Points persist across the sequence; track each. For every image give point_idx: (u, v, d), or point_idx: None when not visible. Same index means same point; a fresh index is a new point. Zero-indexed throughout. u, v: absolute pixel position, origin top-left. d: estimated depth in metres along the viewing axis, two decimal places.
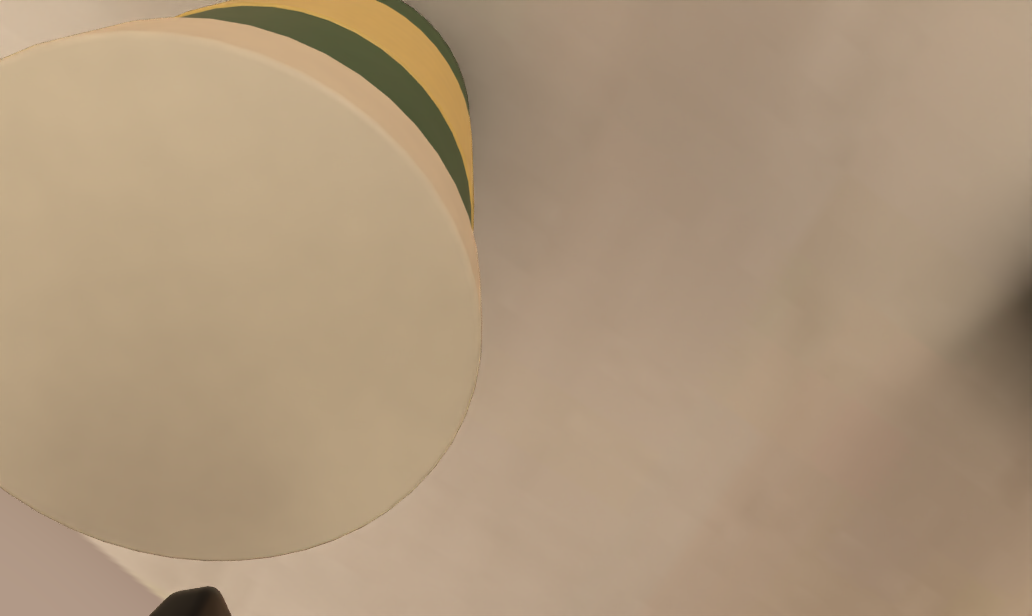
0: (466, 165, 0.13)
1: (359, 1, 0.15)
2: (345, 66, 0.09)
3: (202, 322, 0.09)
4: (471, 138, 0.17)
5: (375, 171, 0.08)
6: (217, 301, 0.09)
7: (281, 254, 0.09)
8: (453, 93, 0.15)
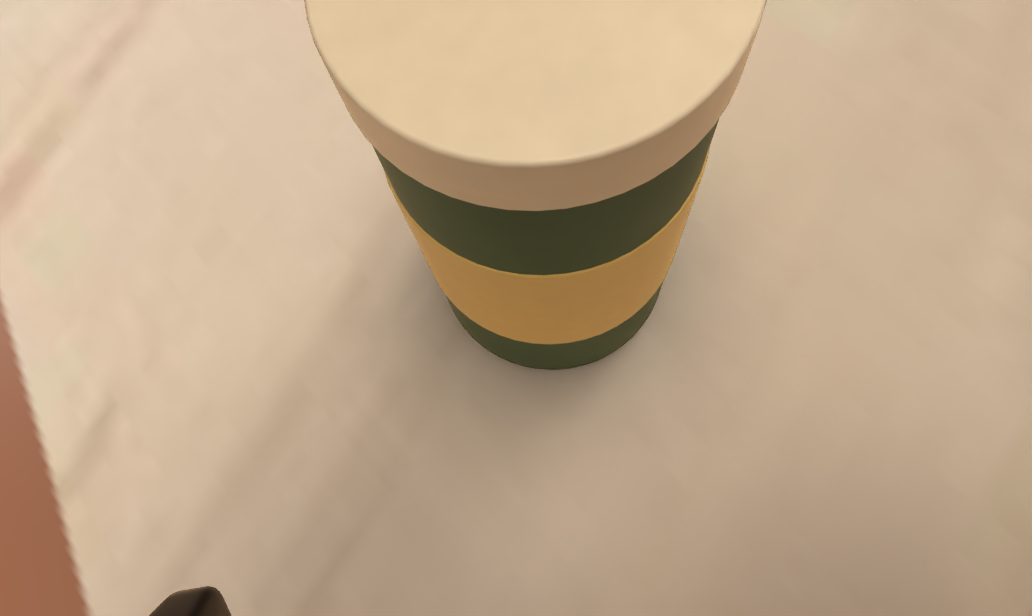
0: None
1: None
2: None
3: None
4: None
5: None
6: None
7: None
8: None
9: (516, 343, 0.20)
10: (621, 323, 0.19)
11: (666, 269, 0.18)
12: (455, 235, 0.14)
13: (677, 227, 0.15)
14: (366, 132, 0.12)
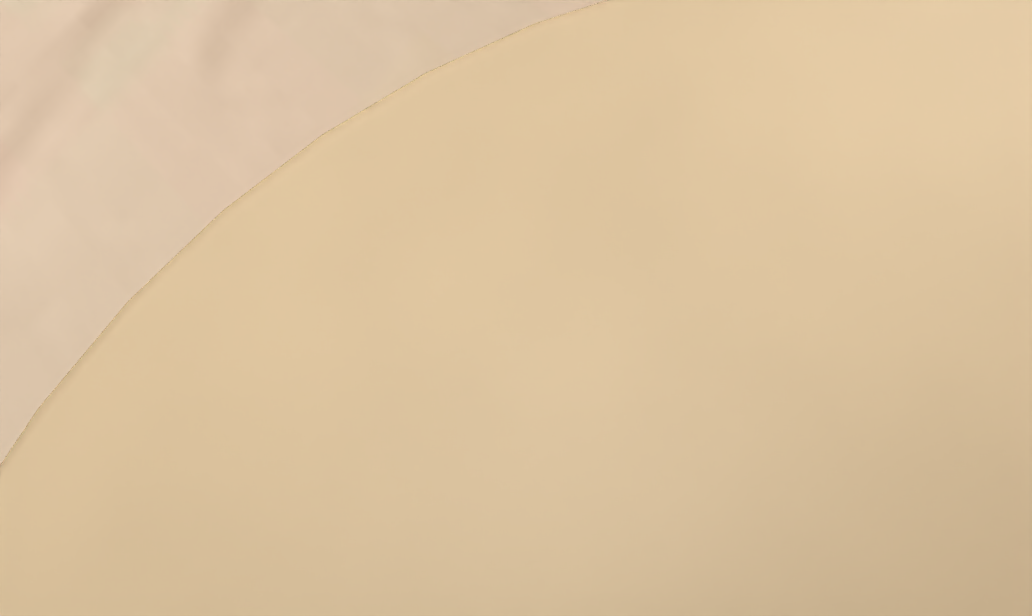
0: None
1: None
2: None
3: None
4: None
5: None
6: None
7: None
8: None
9: None
10: None
11: None
12: None
13: None
14: None
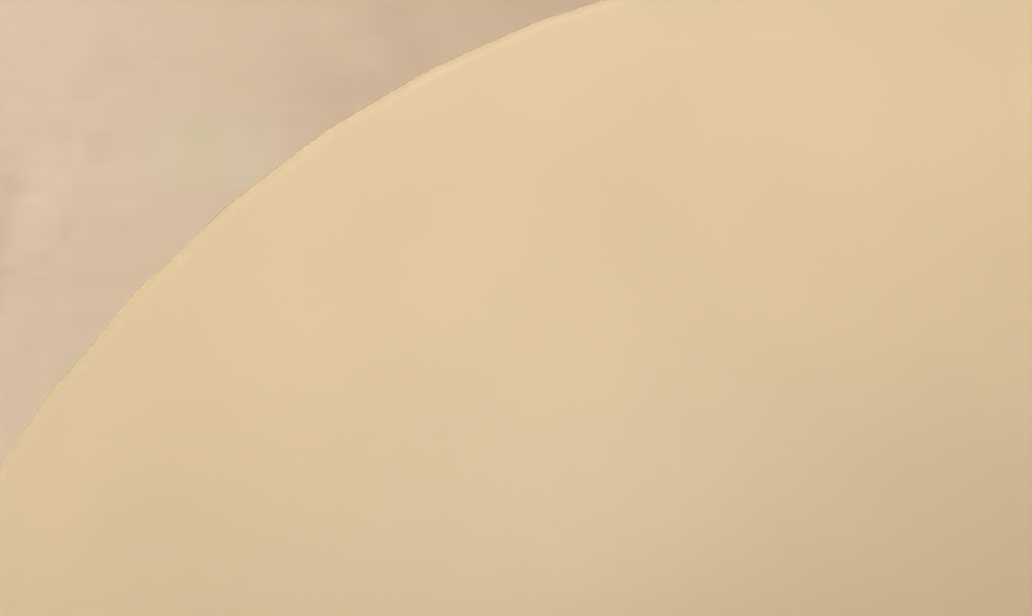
0: None
1: None
2: None
3: None
4: None
5: None
6: None
7: None
8: None
9: None
10: None
11: None
12: None
13: None
14: None
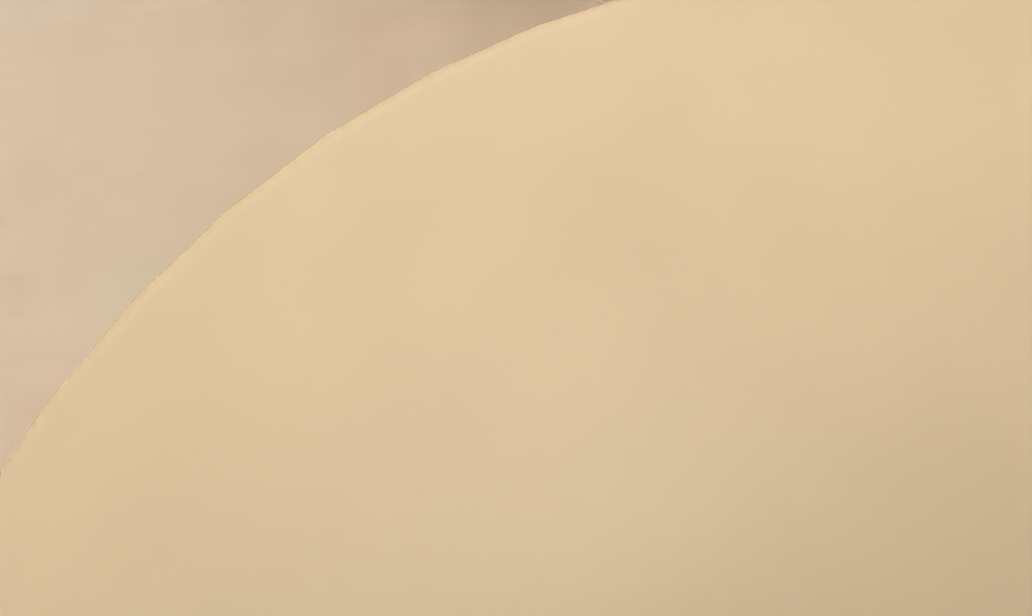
0: None
1: None
2: None
3: None
4: None
5: None
6: None
7: None
8: None
9: None
10: None
11: None
12: None
13: None
14: None
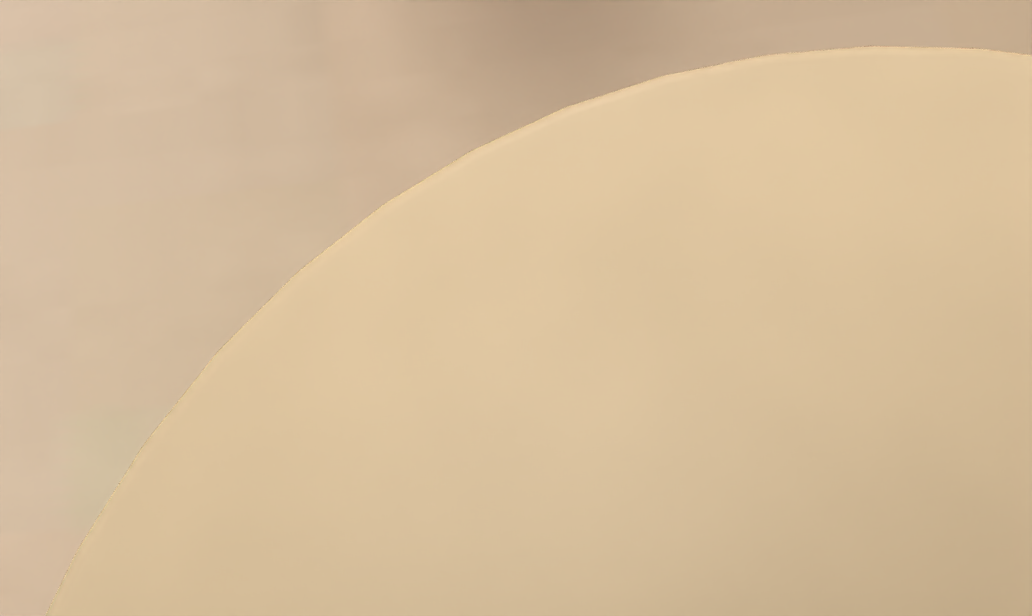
0: None
1: None
2: None
3: None
4: None
5: None
6: None
7: None
8: None
9: None
10: None
11: None
12: None
13: None
14: None
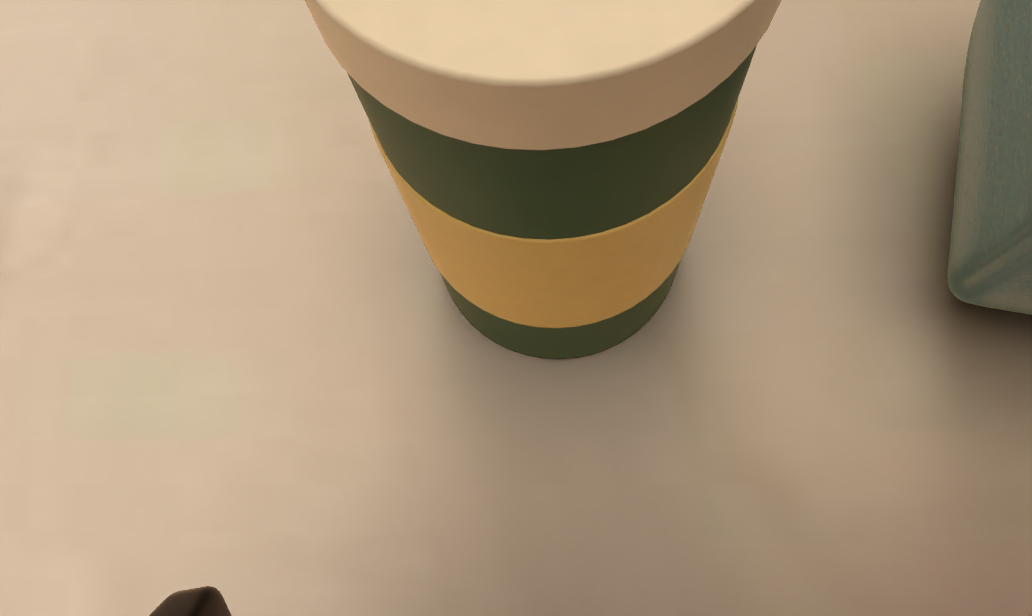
0: None
1: None
2: None
3: None
4: None
5: None
6: None
7: None
8: None
9: (518, 327, 0.18)
10: (634, 305, 0.18)
11: (685, 244, 0.17)
12: (448, 191, 0.12)
13: (700, 189, 0.14)
14: (342, 57, 0.10)
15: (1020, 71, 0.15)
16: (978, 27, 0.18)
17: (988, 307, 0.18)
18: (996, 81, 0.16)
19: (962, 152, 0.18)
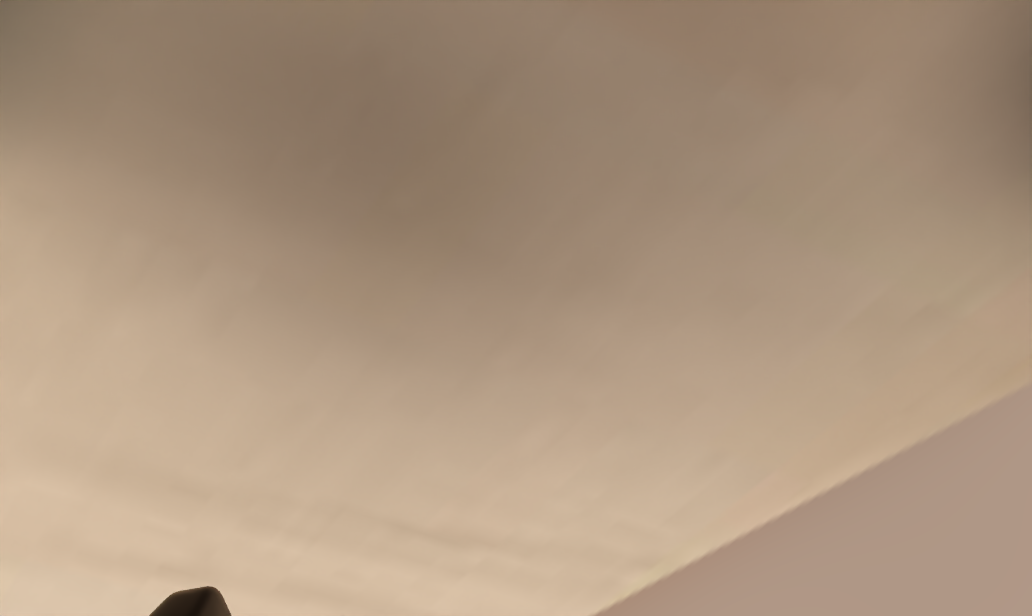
0: None
1: None
2: None
3: None
4: None
5: None
6: None
7: None
8: None
9: None
10: None
11: None
12: None
13: None
14: None
15: None
16: None
17: None
18: None
19: None
